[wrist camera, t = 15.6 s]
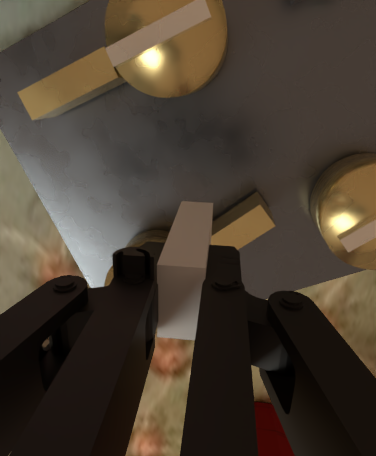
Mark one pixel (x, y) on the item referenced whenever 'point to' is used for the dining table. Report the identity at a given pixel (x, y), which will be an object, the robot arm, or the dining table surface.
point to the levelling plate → (203, 135)
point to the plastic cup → (270, 432)
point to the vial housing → (294, 1)
